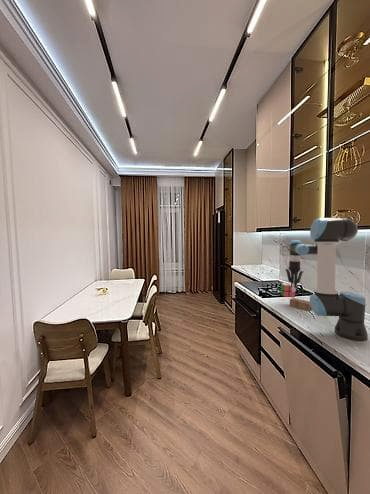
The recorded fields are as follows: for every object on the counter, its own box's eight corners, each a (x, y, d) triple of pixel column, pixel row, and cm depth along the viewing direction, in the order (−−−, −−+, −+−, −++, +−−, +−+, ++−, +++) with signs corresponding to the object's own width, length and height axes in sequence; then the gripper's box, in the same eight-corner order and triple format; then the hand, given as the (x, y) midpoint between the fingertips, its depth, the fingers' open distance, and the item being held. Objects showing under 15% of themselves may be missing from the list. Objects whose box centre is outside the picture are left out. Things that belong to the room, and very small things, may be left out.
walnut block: (289, 306, 182) (309, 311, 172) (289, 299, 182) (309, 304, 171) (293, 304, 187) (313, 308, 176) (293, 297, 187) (313, 302, 176)
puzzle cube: (295, 297, 205) (295, 285, 205) (282, 296, 207) (283, 285, 207) (292, 294, 215) (292, 283, 214) (280, 293, 217) (280, 282, 216)
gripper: (305, 261, 178) (304, 292, 180) (288, 259, 188) (287, 289, 190) (301, 262, 174) (300, 294, 175) (283, 260, 183) (283, 290, 185)
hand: (293, 291), depth 183 cm, fingers closed
